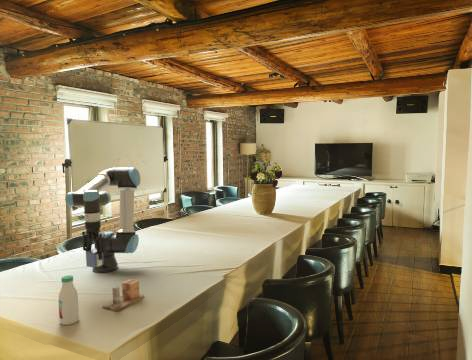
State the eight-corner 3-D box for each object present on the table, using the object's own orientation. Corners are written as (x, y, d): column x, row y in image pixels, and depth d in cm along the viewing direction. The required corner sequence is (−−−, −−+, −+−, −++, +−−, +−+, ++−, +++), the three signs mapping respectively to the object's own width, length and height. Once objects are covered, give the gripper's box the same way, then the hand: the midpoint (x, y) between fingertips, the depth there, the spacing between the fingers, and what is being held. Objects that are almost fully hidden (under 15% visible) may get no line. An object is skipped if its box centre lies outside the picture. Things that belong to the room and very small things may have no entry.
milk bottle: (81, 316, 160) (79, 273, 158) (74, 325, 152) (72, 279, 150) (64, 317, 159) (62, 274, 158) (56, 325, 152) (54, 280, 150)
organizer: (102, 307, 169) (101, 289, 168) (129, 294, 185) (128, 277, 184) (118, 311, 164) (117, 292, 164) (144, 297, 181) (143, 279, 180)
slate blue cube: (86, 266, 182) (85, 251, 181) (95, 262, 187) (94, 248, 186) (94, 267, 179) (94, 252, 179) (103, 264, 185) (102, 249, 184)
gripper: (73, 220, 182) (75, 264, 184) (100, 223, 174) (102, 269, 176) (85, 217, 188) (87, 260, 190) (112, 220, 180) (113, 265, 182)
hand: (94, 264), depth 183 cm, fingers closed on slate blue cube, 6 cm apart
